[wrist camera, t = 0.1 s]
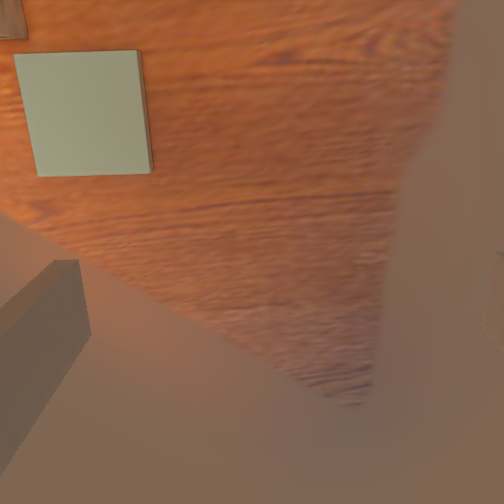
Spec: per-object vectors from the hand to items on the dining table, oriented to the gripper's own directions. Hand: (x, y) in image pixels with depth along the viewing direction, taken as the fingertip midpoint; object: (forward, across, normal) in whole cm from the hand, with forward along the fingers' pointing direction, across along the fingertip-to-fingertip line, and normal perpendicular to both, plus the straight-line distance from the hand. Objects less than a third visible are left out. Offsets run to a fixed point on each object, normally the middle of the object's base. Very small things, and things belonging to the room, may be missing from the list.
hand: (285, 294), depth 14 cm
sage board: (+28, -15, +4) cm, 32 cm away
